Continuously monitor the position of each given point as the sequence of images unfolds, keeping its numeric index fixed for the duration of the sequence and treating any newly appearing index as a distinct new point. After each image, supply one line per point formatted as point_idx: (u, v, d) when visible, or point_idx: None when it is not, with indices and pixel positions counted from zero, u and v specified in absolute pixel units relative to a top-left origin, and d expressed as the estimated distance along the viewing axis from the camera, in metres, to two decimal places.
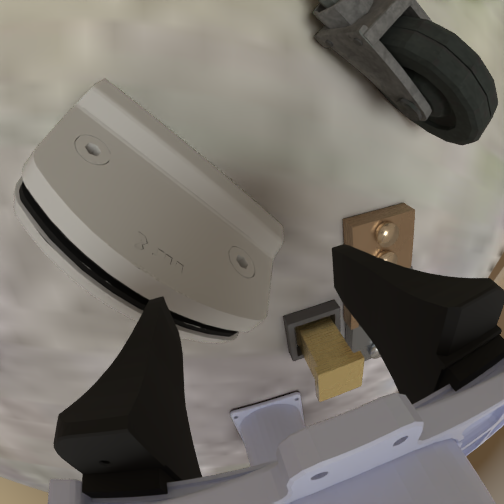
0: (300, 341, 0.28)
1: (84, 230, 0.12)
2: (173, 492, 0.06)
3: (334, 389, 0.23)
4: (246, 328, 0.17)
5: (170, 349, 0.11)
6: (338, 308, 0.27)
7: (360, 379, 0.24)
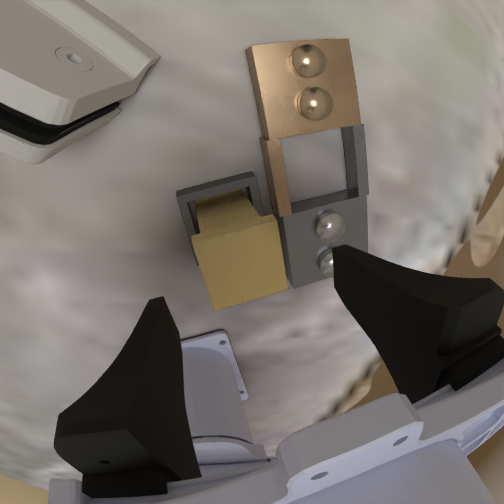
0: None
1: None
2: (173, 492, 0.06)
3: (235, 285, 0.15)
4: (42, 111, 0.09)
5: (170, 349, 0.11)
6: (253, 177, 0.19)
7: (282, 273, 0.16)
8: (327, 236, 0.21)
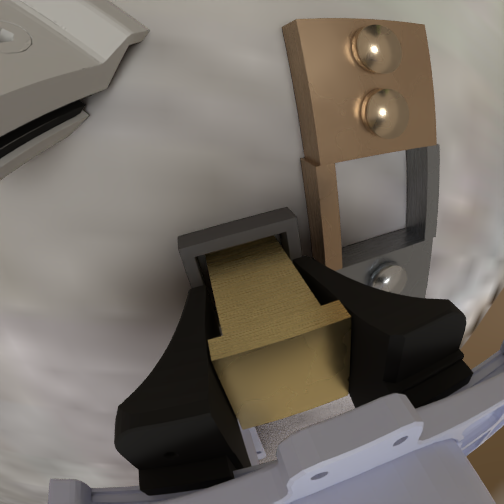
0: None
1: None
2: (172, 491, 0.06)
3: (276, 403, 0.09)
4: None
5: (216, 337, 0.11)
6: (293, 219, 0.13)
7: (344, 379, 0.10)
8: None
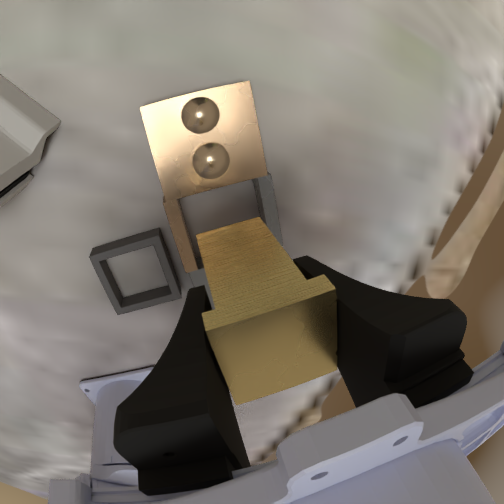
0: None
1: None
2: (173, 492, 0.06)
3: (268, 376, 0.10)
4: None
5: None
6: (156, 236, 0.19)
7: (333, 353, 0.10)
8: None
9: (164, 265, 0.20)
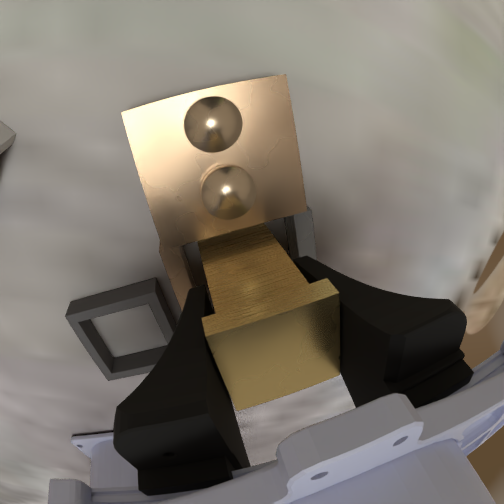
0: None
1: None
2: (172, 492, 0.06)
3: (269, 382, 0.10)
4: None
5: None
6: (152, 293, 0.14)
7: (335, 358, 0.10)
8: None
9: (164, 327, 0.15)
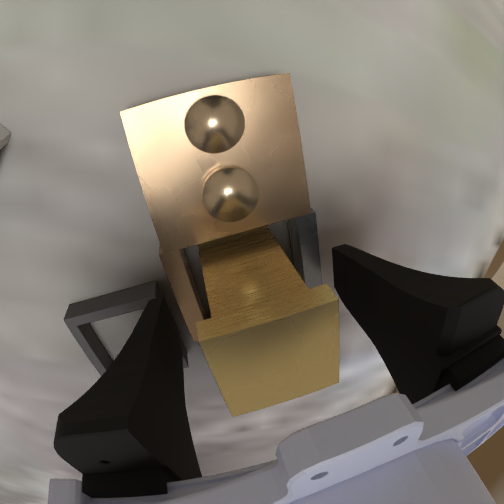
0: None
1: None
2: (172, 492, 0.06)
3: (265, 388, 0.09)
4: None
5: (170, 349, 0.11)
6: (152, 297, 0.14)
7: (334, 366, 0.10)
8: None
9: None
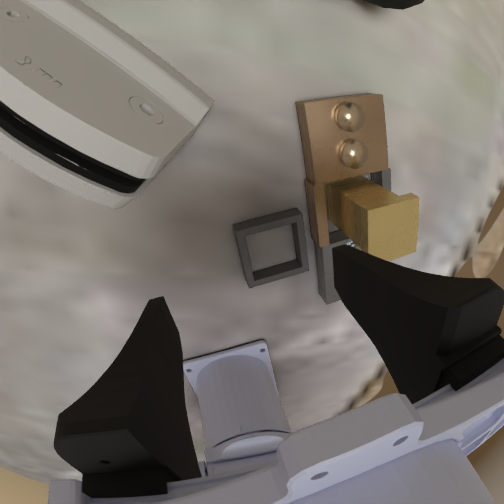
0: (333, 206, 0.23)
1: None
2: (172, 492, 0.06)
3: (386, 247, 0.18)
4: (134, 168, 0.13)
5: (170, 349, 0.11)
6: (300, 214, 0.22)
7: (415, 238, 0.19)
8: None
9: (301, 240, 0.23)
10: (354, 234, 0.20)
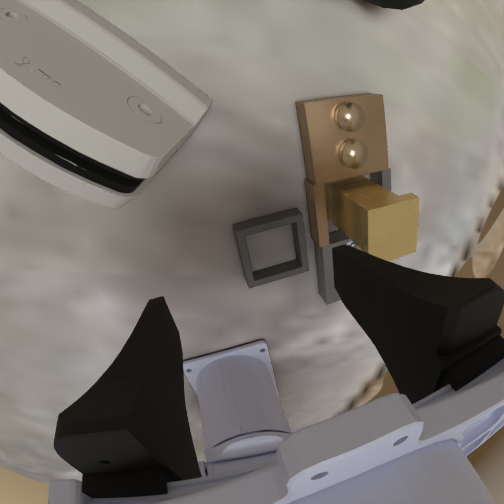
0: (333, 206, 0.23)
1: None
2: (172, 492, 0.06)
3: (386, 247, 0.18)
4: (133, 168, 0.13)
5: (170, 349, 0.11)
6: (300, 214, 0.22)
7: (415, 238, 0.19)
8: None
9: (301, 240, 0.23)
10: (354, 234, 0.20)
